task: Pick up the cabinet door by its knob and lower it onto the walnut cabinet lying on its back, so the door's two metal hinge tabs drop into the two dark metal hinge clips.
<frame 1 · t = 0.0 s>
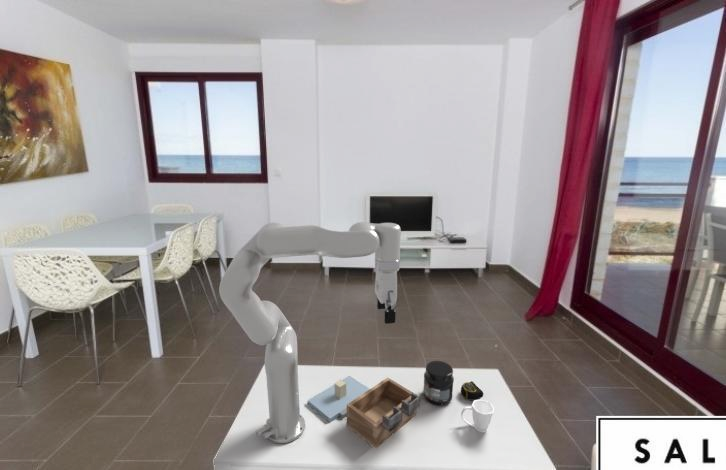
hand: (385, 315, 113), 37 cm above the table, fingers open, 9 cm apart
door: (340, 398, 130), on the table
cup: (476, 427, 118), on the table
tape measure: (471, 395, 133), on the table
cabinet: (381, 420, 120), on the table
supplement container: (437, 397, 131), on the table
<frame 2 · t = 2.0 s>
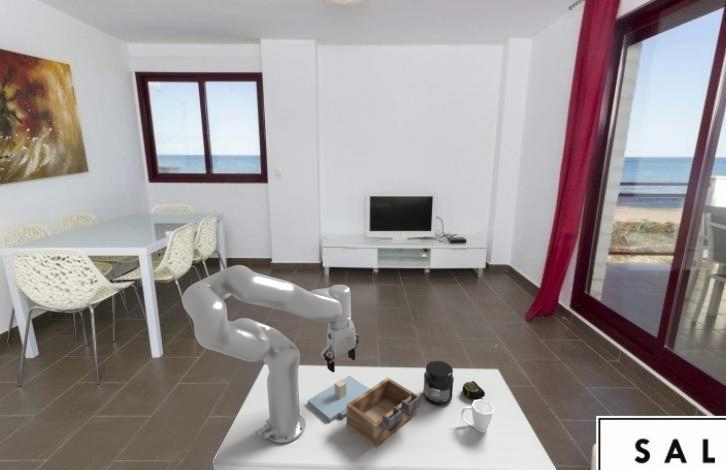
hand: (341, 364, 127), 14 cm above the table, fingers open, 9 cm apart
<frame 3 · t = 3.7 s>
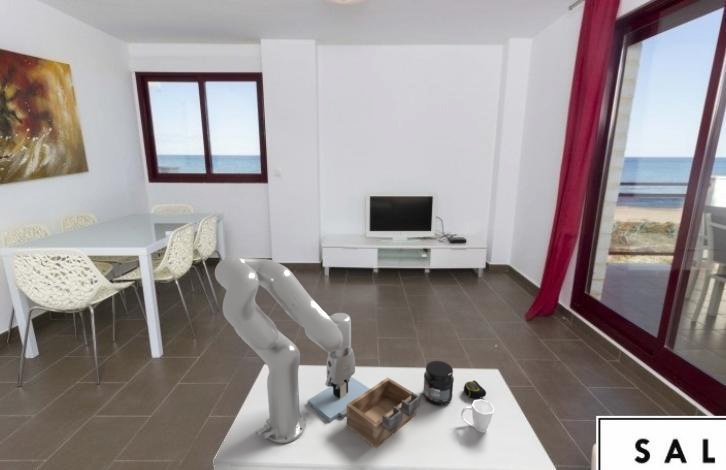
hand: (340, 393, 129), 2 cm above the table, fingers closed on door, 3 cm apart
door: (340, 398, 130), on the table, touching gripper
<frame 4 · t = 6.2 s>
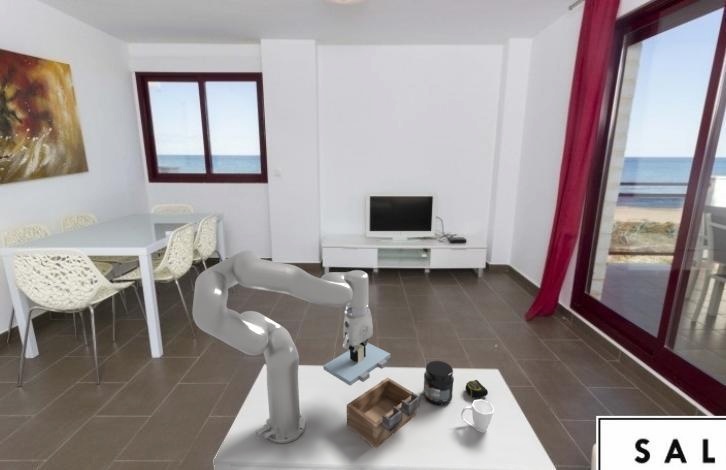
hand: (357, 357, 121), 19 cm above the table, fingers closed on door, 3 cm apart
door: (357, 363, 122), point 17 cm above the table, touching gripper
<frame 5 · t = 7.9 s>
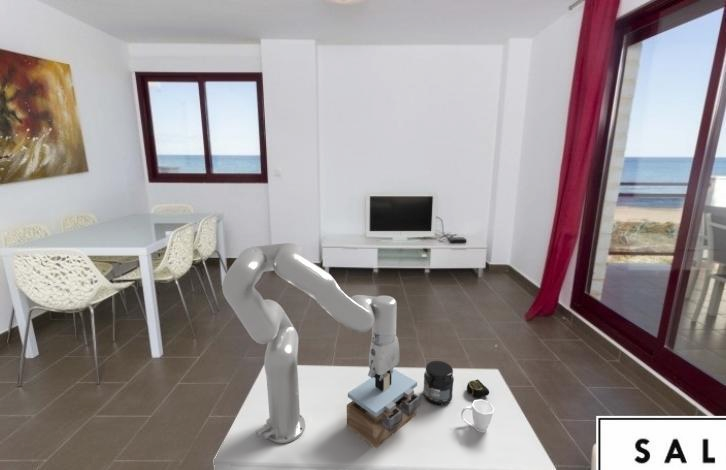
hand: (383, 385, 117), 13 cm above the table, fingers closed on door, 3 cm apart
door: (383, 391, 117), point 11 cm above the table, touching gripper
when the fingers open (12 cm above the table, at t = 8.9 s): door drops 1 cm, resting on cabinet.
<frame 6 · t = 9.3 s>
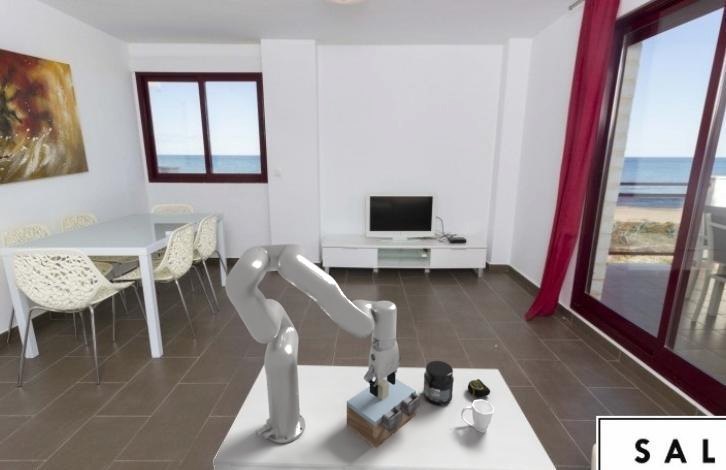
hand: (382, 388, 117), 12 cm above the table, fingers open, 7 cm apart
door: (382, 399, 118), point 8 cm above the table, touching cabinet
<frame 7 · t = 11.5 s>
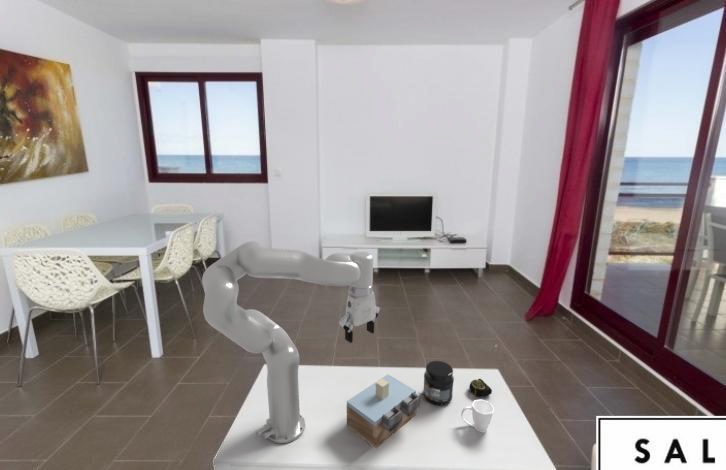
hand: (359, 336, 123), 26 cm above the table, fingers open, 9 cm apart
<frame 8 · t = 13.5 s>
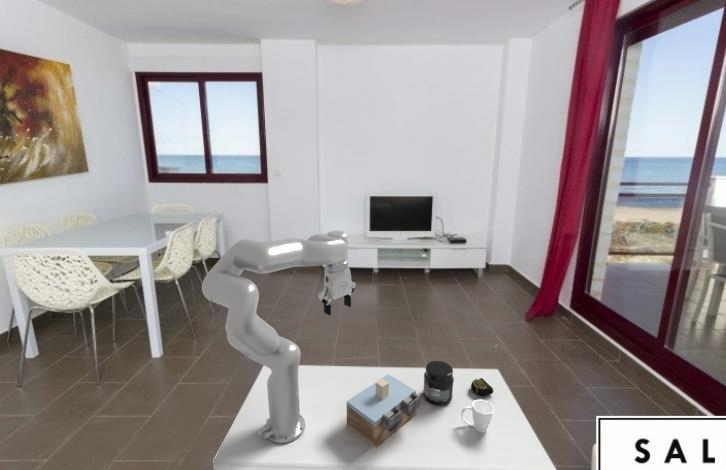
hand: (337, 309, 132), 30 cm above the table, fingers open, 9 cm apart
at the end: door 0.1 cm off-centre on the cabinet, point 8.0 cm above the cabinet's base; door tilted 0°; the gripper is holding nothing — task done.
